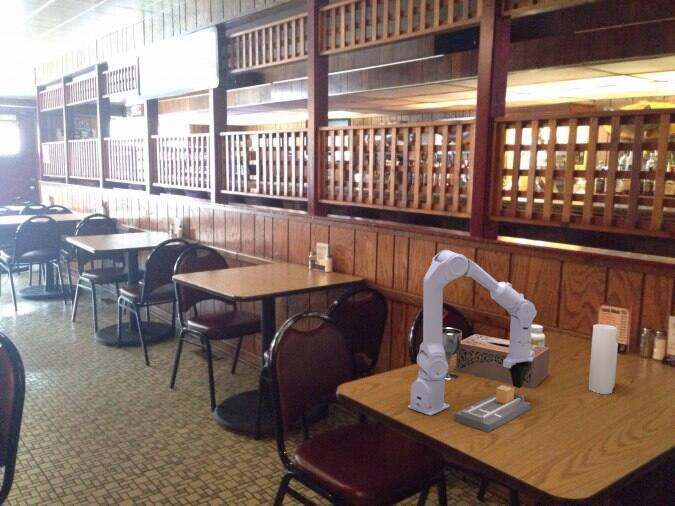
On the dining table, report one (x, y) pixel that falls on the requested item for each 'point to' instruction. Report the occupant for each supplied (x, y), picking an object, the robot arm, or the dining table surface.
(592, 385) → the candle
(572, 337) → the dining table surface
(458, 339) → the wine glass
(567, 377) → the dining table surface
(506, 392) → the fader tab
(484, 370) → the tissue box cover
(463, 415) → the grey flat railed block
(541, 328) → the supplement bottle
